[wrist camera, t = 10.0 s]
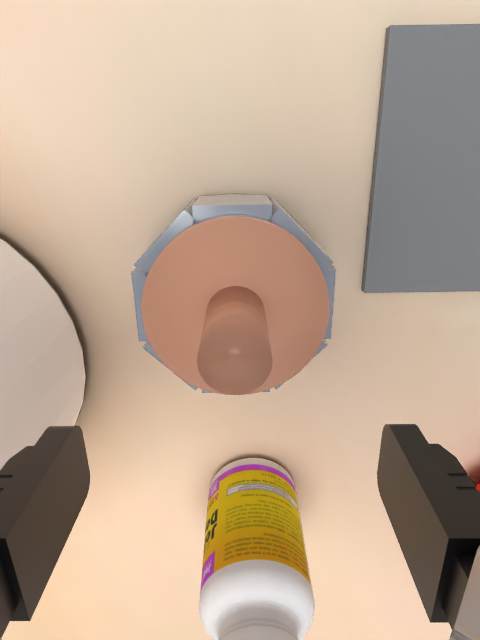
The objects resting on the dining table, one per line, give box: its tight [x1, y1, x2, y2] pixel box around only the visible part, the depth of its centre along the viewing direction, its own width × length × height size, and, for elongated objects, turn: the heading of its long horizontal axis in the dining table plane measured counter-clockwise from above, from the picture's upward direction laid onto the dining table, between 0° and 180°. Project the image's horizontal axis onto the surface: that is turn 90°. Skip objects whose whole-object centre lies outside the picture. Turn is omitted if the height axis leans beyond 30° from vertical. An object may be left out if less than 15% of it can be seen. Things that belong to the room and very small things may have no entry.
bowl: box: [132, 193, 336, 393], centre depth 24 cm, size 10×10×6 cm
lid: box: [141, 215, 330, 395], centre depth 19 cm, size 9×9×6 cm
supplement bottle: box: [199, 458, 314, 640], centre depth 27 cm, size 7×7×13 cm
